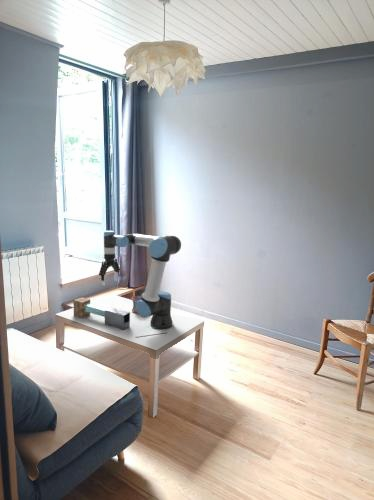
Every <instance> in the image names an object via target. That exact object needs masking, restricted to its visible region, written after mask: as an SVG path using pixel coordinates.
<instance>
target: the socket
mask: <svg viewBox="0 0 374 500" xmlns="http://www.w3.org/2000/svg"><path fill="white" fill-rule="evenodd" d="M88 302H90V303H91V299H89V298H87V297H79V298H76V299H73V316H75V317H76V318H81V319H84V318H86V317H89V316H91V313H89V312H83V304H85V303H88ZM83 317H84V318H83Z"/></svg>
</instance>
